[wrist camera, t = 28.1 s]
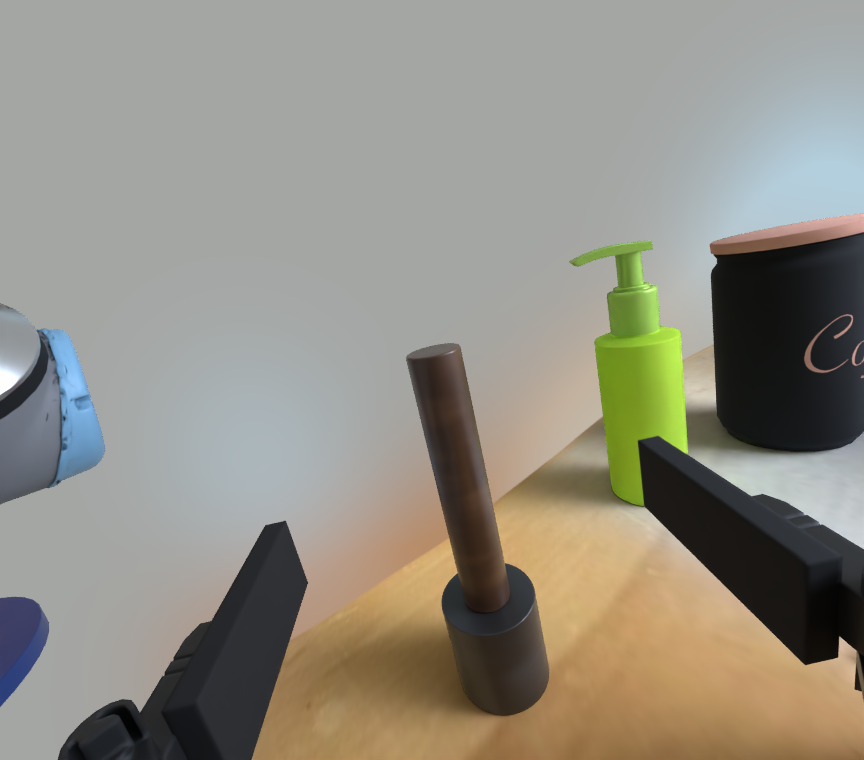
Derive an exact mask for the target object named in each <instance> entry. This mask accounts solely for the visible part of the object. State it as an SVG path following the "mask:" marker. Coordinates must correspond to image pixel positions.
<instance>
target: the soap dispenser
mask: <svg viewBox="0 0 864 760" xmlns="http://www.w3.org/2000/svg"><path fill="white" fill-rule="evenodd" d="M651 249H653V248H652V241H641V242H633V243H625V244H618V245H612V246H607V247H603V248H599V249H596V250H593V251H590V252H588V253H585V254H583V255H581V256H579V257H577V258H575V259H573V260H571V261H570V263H571V264H573V265H574V266H581V265H583V264H585V263H588V262H590V261H593V260H596V259H600V258H604V257H608V256H614V255H615V257H616V267H617V277H618V287H615V288H614V289H613V291H612V292H609V293H608V294H607V300H608V310H609V319H610V329H611V332H610V333H608V334H605V335H603V336H600V337H598V338H597V339H596V340H595V351H596V359H597V368H598V376H599V385H600V393H601V402H602V409H603V419H604V427H605V436H606V444H607V453H608V461H609V470H610V478H611V486H612V490H613V492H614V493H615V494H616V495H617V496H618V497H619V498H621V499H623V500H625V501H627V502H629V503H632V504H636V505H640V506H644V500H643V490H642V479H641V469H640V459H639V449H638V440H642V439H646V438H651V437H655V436H659V437H661V438H662V439H664V440H666V441H667V442H669V443H670V444H672V445H673V446H675V447H676V448H678V449H679V450H681V451H682V452H684V453H685V454H687V455H688V444H687V428H686V412H685V396H684V380H683V364H682V348H681V333H680V331H679V330H678V329H675V328H671V327H663V326H660V316H659V302H658V290H657V286H655V285H650V283H648V282H644V281H643V269H642V256H641V251H645V250H651Z"/></svg>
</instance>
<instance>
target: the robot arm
mask: <svg viewBox="0 0 864 760" xmlns="http://www.w3.org/2000/svg"><path fill="white" fill-rule="evenodd" d="M638 449H639V459H640V469H641V479H642V490H643V500H644V506H645V507H646V508H647V509H648V510H649V511H650V512H651V513H652V514H653V515H654V516H655V517H656V518H657V519H658V520H659V521H660V522H661V523H662V524H663V525H664V526H665V527H666V528H667V529H668V530H669V531H670V532H671V533H672V534H673V535H674V536H675V537H676V538H677V539H678V540H679V541H680V542H681V543H682V544H683V545H684V546H685V547H686V548H687V549H688V550H689V551H690V552H691V553H692V554H693V555H694V556H695V557H696V558H697V559H698V560H699V561H700V562H701V563H702V564H703V565H704V566H705V567H706V568H707V569H708V570H709V571H710V572H711V573H712V574H713V575H714V576H715V577H716V578H717V579H718V580H720V581H721V582H722V583H723V584H724V585H725V586H726V587H727V588H728V589H729V590H730V591H731V592H732V593H733V594H734V595H735V596H736V597H737V598H738V599H739V600H740V601H741V602H742V603H743V604H744V605H745V606H746V607H747V608H748V609H749V610H750V611H751V612H752V613H753V614H754V615H755V616H756V617H757V618H758V619H759V620H760V621H761V622H762V623H763V624H764V625H765V626H766V627H767V628H768V629H769V630H770V631H771V632H772V633H773V634H774V635H775V636H776V637H777V638H778V639H779V640H780V641H781V642H782V643H783V644H784V645H785V646H786V647H787V648H788V649H789V650H790V651H791V652H792V653H793V654H794V655H795V656H796V657H797V658H798V659H799V660H800V661H801V662H802V663H803V664H805V665H808V664H812V663H817V662H821V661H825V660H830V659H834V658H838V649H839V636H840V637H841V638H842V639H843V640H845V641H846V642H847V643H848V644H849V645H851V646H852V647H853V648H854V649H855V650H856V651H857V659H856V675H855V690H858V691H862V695H863V700H864V549H862V548H860V547H859V546H857V545H855V544H854V543H852V542H850V541H849V540H847V539H846V538H844V537H842V536H841V535H839V534H837V533H836V532H834V531H832V530H831V529H829V528H827V527H826V526H824V525H823V524H822V525H820V524H819V522H818V521H816V520H814V519H813V518H811V517H809V516H808V515H804V513H803V512H801V511H800V510H798V509H796V508H795V507H793V506H791V505H790V504H788V503H786V502H784V501H781V500H779V499H776V498H773V497H770V496H767V495H764V494H761V495H756V496H752V497H751V496H750V495H748V494H747V493H745V492H744V491H742V490H741V489H739V488H738V487H736V486H735V485H733V484H731V483H730V482H728V481H727V480H725V479H724V478H722V477H721V476H719V475H718V474H716V473H715V472H713V471H712V470H710V469H708V468H707V467H705V466H704V465H702V464H701V463H699V462H698V461H696V460H695V459H693V458H692V457H690V456H689V455H687V454H685V453H684V452H682V451H681V450H679V449H678V448H676V447H675V446H673V445H672V444H670V443H669V442H667V441H666V440H664V439H662V438H661V437H659V436H655V437H651V438H646V439H642V440H638ZM104 452H105V445H104V440H103V436H102V432H101V428H100V425H99V421H98V418H97V415H96V412H95V409H94V407H93V403H92V401H91V399H90V394H89V391H88V387H87V383H86V380H85V377H84V374H83V371H82V368H81V365H80V363H79V360H78V357H77V354H76V351H75V349H74V346H73V344H72V341H71V339H70V337H69V335H68V334H67V333H66V332H64V331H63V330H58V329H53V330H48V329H41V330H36V329H35V327H34V326H33V325H32V324H31V323H30V321H29V320H28V319H27V318H26V317H25V316H24V315H22V314H21V313H19V312H18V311H16V310H15V309H13V308H10V307H8V306H6V305H3V304H1V303H0V504H2V503H5V502H7V501H10V500H13V499H16V498H19V497H22V496H24V495H27V494H30V493H33V492H36V491H38V490H41V489H44V488H50V487H54V486H56V485H57V484H59V483H60V482H61V481H62V480H65V479H67V478H69V477H72V476H74V475H76V474H79V473H82V472H84V471H86V470H89V469H91V468H92V467H94V466H96V465H97V464H98V463H99V462H100V461H101V459H102V457H103V455H104ZM307 584H308V582H307V579H306V576H305V573H304V570H303V568H302V565H301V562H300V559H299V556H298V554H297V551H296V548H295V545H294V542H293V540H292V537H291V534H290V531H289V528H288V526H287V523H286V521H283V522H278V523H274V524H270V525H265V527H264V529H263V530H262V532H261V534H260V536H259V538H258V539H257V541H256V543H255V545H254V547H253V548H252V550H251V552H250V554H249V556H248V557H247V559H246V561H245V563H244V564H243V566H242V568H241V570H240V571H239V573H238V575H237V577H236V579H235V580H234V582H233V584H232V586H231V588H230V589H229V591H228V593H227V595H226V596H225V598H224V600H223V602H222V603H221V605H220V607H219V609H218V611H217V613H216V614H215V616H214V618H213V620H212V621H210V622H206V623H201V624H199V626H198V627H197V628H196V629H195V630H194V631H193V632H192V633H191V634H190V635H189V636H188V637H187V638H186V639H185V640H184V642H183V643H182V645H181V646H180V648H179V650H178V652H177V653H176V655H175V656H174V660H173V661H172V662H171V663H170V665H169V666H168V668H167V670H166V671H165V675H164V676H163V677H162V678H161V679H160V681H159V683H158V684H157V686H156V688H155V689H154V691H153V693H152V694H151V696H150V698H149V699H148V701H147V703H146V704H145V706H144V707H143V709H142V711H141V712H140V713H139V711H138V709H137V707H136V705H135V704H134V703H133V702H132V700H124V699H122V700H119V701H116V702H112V703H110V704H108V705H106V706H104V707H103V708H101V709H99V710H98V711H96V712H95V713H93V714H92V715H91V716H90V717H88V718H87V719H86V720H85V721H83V722H82V723H81V724H80V725H79V726H78V727H77V728H76V729H75V731H74V732H73V733H72V734H71V735H70V736H69V737H68V739H67V740H66V742H65V744H64V745H63V747H62V748H61V750H60V754H59V757H58V760H251V759H252V756H253V752H254V749H255V746H256V743H257V740H258V737H259V734H260V731H261V728H262V724H263V721H264V718H265V715H266V712H267V709H268V706H269V703H270V699H271V696H272V693H273V690H274V687H275V684H276V681H277V678H278V674H279V671H280V668H281V665H282V662H283V659H284V656H285V653H286V650H287V646H288V643H289V640H290V637H291V634H292V631H293V628H294V625H295V621H296V618H297V615H298V612H299V609H300V606H301V603H302V600H303V596H304V593H305V590H306V587H307Z"/></svg>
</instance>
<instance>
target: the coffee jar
mask: <svg viewBox="0 0 864 760" xmlns="http://www.w3.org/2000/svg"><path fill="white" fill-rule="evenodd" d="M710 249H711V253H712V254H714V256H715V257H716V258H717V264H716V266H715V267H714V268H713V270H712V273H711V289H712V312H713V333H714V358H715V382H716V405H717V416H718V418H719V420H720V422H721V423H722V425H723V427H725V428H726V429H727V431H728V432H729V433H730V434H731V435H733V436H734V437H736V438H737V439H739V440H741V441H744V442H747V443H750V444H752V445H756V446H761V447H765V448H770V449H776V450H787V451H821V450H828V449H834V448H839V447H842V446H844V445H847V444H849V443H852V442H853V441H854V440H855V439H856V438H857V437H858V436H860V435H861V434H862V433H863V431H864V214H854V215H846V216H839V217H833V218H825V219H819V220H813V221H807V222H801V223H796V224H790V225H784V226H779V227H774V228H768V229H764V230H758V231H753V232H749V233H745V234H740V235H736V236H731V237H728V238H723V239H720V240H717V241H714V242H713V243H711V244H710Z"/></svg>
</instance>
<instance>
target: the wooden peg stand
mask: <svg viewBox="0 0 864 760" xmlns="http://www.w3.org/2000/svg"><path fill="white" fill-rule="evenodd" d="M406 361H407V365H408V369H409V373H410V377H411V381H412V385H413V390H414V394H415V398H416V402H417V406H418V410H419V414H420V419H421V423H422V427H423V431H424V435H425V439H426V443H427V448H428V451H429V456H430V460H431V464H432V468H433V472H434V476H435V480H436V485H437V489H438V493H439V497H440V501H441V505H442V510H443V514H444V517H445V522H446V526H447V530H448V534H449V539H450V543H451V547H452V551H453V555H454V559H455V563H456V568H457V572H458V574H456V575H455V576H454V577H453V578H452V579H451V580H450V581H449V583H448V584H447V586H446V588H445V590H444V592H443V595H442V610H443V614H444V618H445V622H446V626H447V630H448V633H449V637H450V641H451V645H452V649H453V653H454V656H455V660H456V664H457V668H458V672H459V676H460V680H461V683H462V686H463V689H464V691H465V693H466V695H467V696H468V697H469V699H470V700H471V701H472V702H473V703H474V704H475V705H477V706H478V707H479V708H481V709H483V710H485V711H487V712H489V713H493V714H498V715H511V714H516V713H519V712H522V711H524V710H526V709H528V708H529V707H531V706H532V705H534V704H535V703H536V702H537V701H538V700H539V699H540V697H541V696H542V694H543V693H544V691H545V689H546V686H547V683H548V679H549V665H548V660H547V654H546V649H545V643H544V638H543V633H542V627H541V622H540V617H539V611H538V606H537V600H536V595H535V590H534V586H533V584H532V582H531V580H530V579H529V577H528V576H527V575H526V574H525V573H524V572H523V571H521V570H520V569H518V568H517V567H515V566H512V565H509V564H506V563H505V562H504V557H503V552H502V547H501V543H500V538H499V533H498V528H497V523H496V518H495V513H494V508H493V504H492V499H491V494H490V489H489V484H488V479H487V475H486V470H485V465H484V460H483V455H482V450H481V445H480V440H479V435H478V431H477V426H476V421H475V416H474V411H473V406H472V401H471V396H470V391H469V386H468V382H467V377H466V372H465V367H464V362H463V357H462V352H461V348H460V346H459V344H454V343H448V344H440V345H434V346H429V347H426V348H422V349H419V350H416V351H414V352H412V353H410V354H409V355H407V357H406Z"/></svg>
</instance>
